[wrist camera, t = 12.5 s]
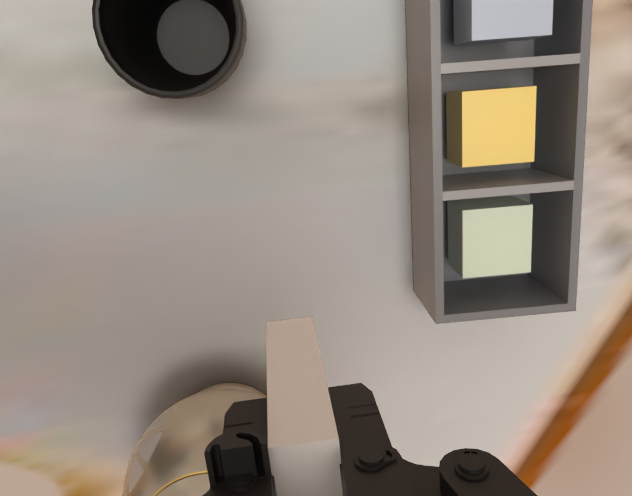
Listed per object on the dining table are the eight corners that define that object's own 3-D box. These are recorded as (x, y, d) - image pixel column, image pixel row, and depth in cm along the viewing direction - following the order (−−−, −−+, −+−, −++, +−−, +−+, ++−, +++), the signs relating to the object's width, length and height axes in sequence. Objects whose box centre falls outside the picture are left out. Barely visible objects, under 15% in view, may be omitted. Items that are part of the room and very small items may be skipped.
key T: (446, 161, 42) (462, 167, 38) (446, 91, 40) (462, 91, 37) (512, 155, 42) (534, 161, 38) (514, 86, 41) (536, 85, 37)
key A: (448, 263, 44) (462, 278, 40) (447, 200, 43) (462, 210, 39) (510, 257, 44) (530, 272, 41) (511, 195, 43) (532, 204, 39)
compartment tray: (413, 290, 46) (435, 323, 39) (399, -198, 37) (425, -263, 30) (533, 279, 46) (575, 310, 40) (549, -207, 37) (607, -273, 30)
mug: (303, -27, 39) (310, -63, 30) (213, 120, 41) (194, 127, 32) (202, -103, 38) (176, -167, 28) (113, 53, 40) (63, 41, 31)
